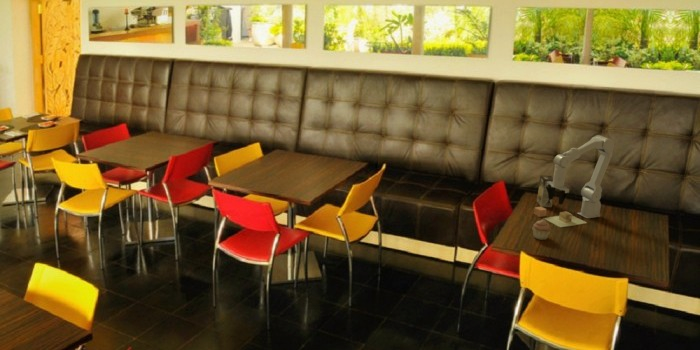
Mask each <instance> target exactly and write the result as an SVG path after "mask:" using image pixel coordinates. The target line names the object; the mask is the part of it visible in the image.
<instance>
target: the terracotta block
mask: <svg viewBox="0 0 700 350" xmlns="http://www.w3.org/2000/svg"><path fill="white" fill-rule="evenodd" d="M534 214H535V216H536V215H537V216H536V217H538V218H542V217H543V218H544V217H546V216H547V208H546V207H541V206H535V207H534V208H533V215H534Z"/></svg>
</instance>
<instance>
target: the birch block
mask: <svg viewBox="0 0 700 350" xmlns="http://www.w3.org/2000/svg"><path fill="white" fill-rule="evenodd" d="M558 216H559V220H561V221H563V222H571V221H572V216H573V214H572V213H570V212H569V211H560V212H559V215H558Z"/></svg>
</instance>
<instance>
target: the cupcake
mask: <svg viewBox="0 0 700 350" xmlns="http://www.w3.org/2000/svg"><path fill="white" fill-rule="evenodd" d="M531 229H532V231H533V232H532V235H533V238H534V239H536V240H539V241H540V240H541V241H546V240H547V239H548V237H549V235H550V234H551V232H552V228H551V226H550V224H549V222H548V221H547V220H545V219H543V218H542V219H540V220H537V221H535V223H533V226H531Z"/></svg>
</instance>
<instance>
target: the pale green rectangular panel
mask: <svg viewBox="0 0 700 350" xmlns="http://www.w3.org/2000/svg"><path fill="white" fill-rule="evenodd" d="M542 219H544V220H545V221H546V222H548V223H551V224H553V225H554V226H556V227H558V228H567V227H573V226H574V227H575V226H579V225H585V224H588V222H586V221H585V220H582V219H581V218H578V217H577V216H574V215H572V221H571V222H563V221H561V220H559V215H555V216H549V217H543V218H542Z"/></svg>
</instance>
